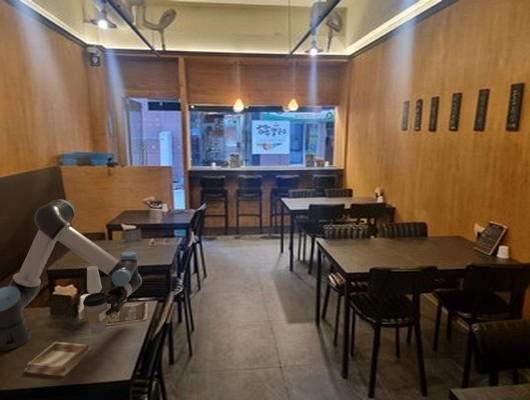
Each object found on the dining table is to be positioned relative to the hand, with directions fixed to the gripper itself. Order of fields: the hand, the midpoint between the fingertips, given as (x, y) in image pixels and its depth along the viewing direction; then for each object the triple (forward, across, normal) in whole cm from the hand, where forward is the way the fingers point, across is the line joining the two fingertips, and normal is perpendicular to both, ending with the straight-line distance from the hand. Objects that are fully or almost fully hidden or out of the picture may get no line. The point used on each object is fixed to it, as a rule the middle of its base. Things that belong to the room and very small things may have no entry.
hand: (89, 316), depth 150 cm
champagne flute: (-35, +21, -18) cm, 45 cm away
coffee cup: (-5, 0, -9) cm, 10 cm away
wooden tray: (+4, +12, -18) cm, 22 cm away
